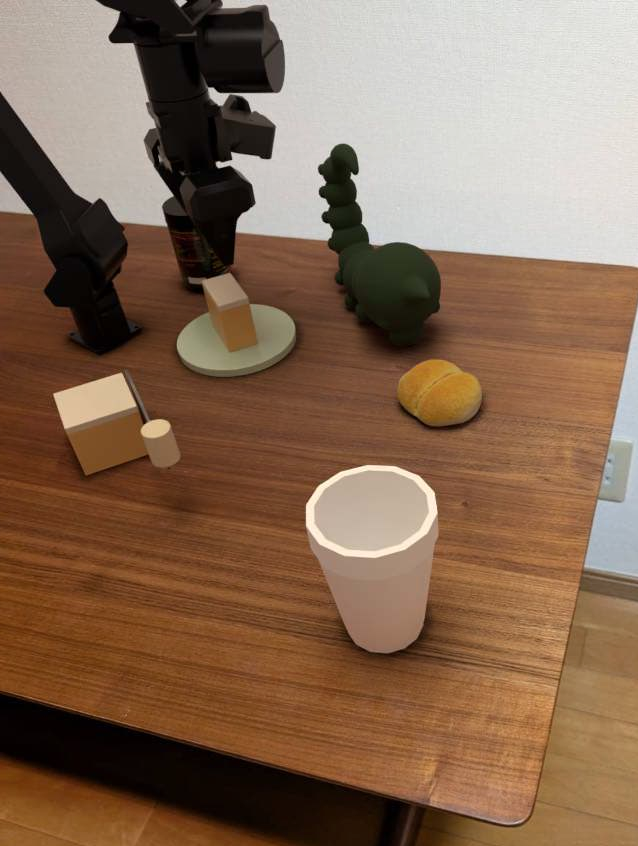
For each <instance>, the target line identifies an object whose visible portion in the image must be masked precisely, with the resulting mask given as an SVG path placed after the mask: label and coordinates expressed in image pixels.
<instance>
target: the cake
mask: <svg viewBox="0 0 638 846" xmlns="http://www.w3.org/2000/svg"><path fill="white" fill-rule="evenodd" d="M129 387H130V386H129V385H128V383H127V381H126V379H125V377H124V374H123V373H122V372H119V373H116V374H112V375H110V376H106V377H103V378H99V379H96V380H93V381H89V382H87V383H86V382H85V383H84V384H81V385H76V386H74V387H70V388H68V389H64V390H61V391H57V392H54V393H53V394H52V396H53V398H54V401H55V404H56V407H57V410H58V413H59V416H60V419H61V423H62V425H63V428H64V431H65V433H66V435H67V437H68V440H69V442H70V444H71V446H72V448H73V451H74V453H75V455H76V458H77V460H78V462H79V464H80V466H81V468H82V470H83V473H84V475H85V476H88V475H92V474H95V473H98V472H101V471H104V470H107V469H109V468H110V469H111V468H112V467H115V466H118V465H122V464H124V463H127V462H130V461H134V460H137V459H139V458H142V457H146V456H149V453H148V451H147V448H146V445H145V443H144V440H143V437H142V435H141V428H142V427H143V426H144V425H145V423H144V421H143V419H142V417H141V414H140V412H139V409H138V407H137V404H136V401H135V398H134V396H133V393H132V391H131V389H130V388H129Z"/></svg>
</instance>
